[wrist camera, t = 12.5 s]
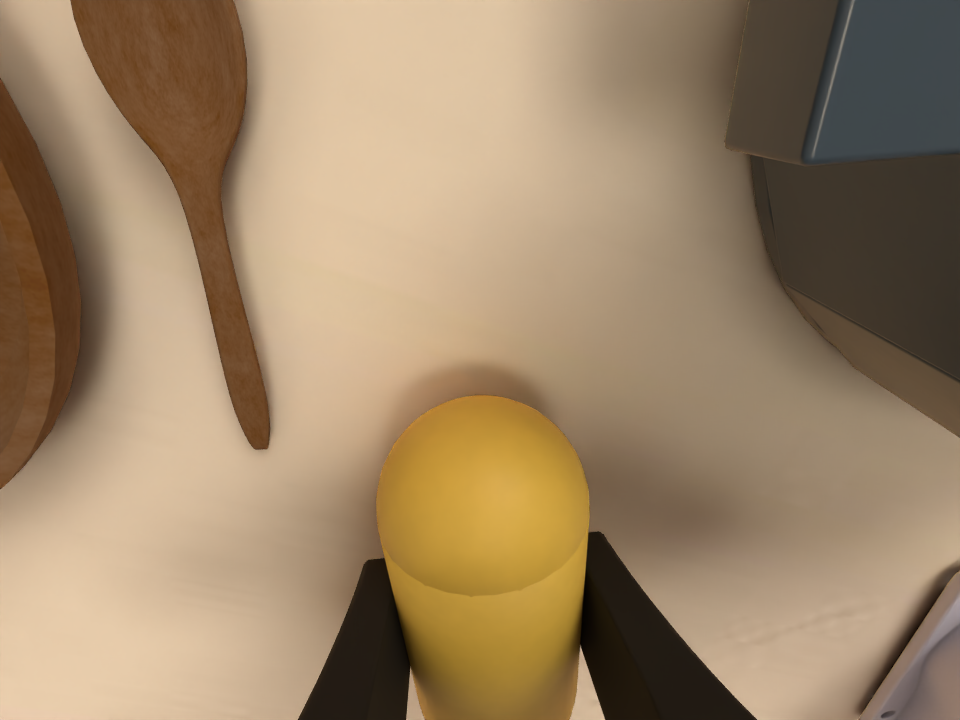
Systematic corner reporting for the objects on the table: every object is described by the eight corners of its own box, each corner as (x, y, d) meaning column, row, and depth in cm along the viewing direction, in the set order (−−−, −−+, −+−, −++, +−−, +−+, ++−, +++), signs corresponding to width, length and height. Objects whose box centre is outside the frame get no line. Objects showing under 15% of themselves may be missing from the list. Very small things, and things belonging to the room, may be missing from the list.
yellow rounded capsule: (554, 628, 14) (593, 790, 11) (425, 645, 14) (426, 816, 11) (562, 348, 10) (634, 485, 6) (369, 368, 9) (340, 520, 6)
